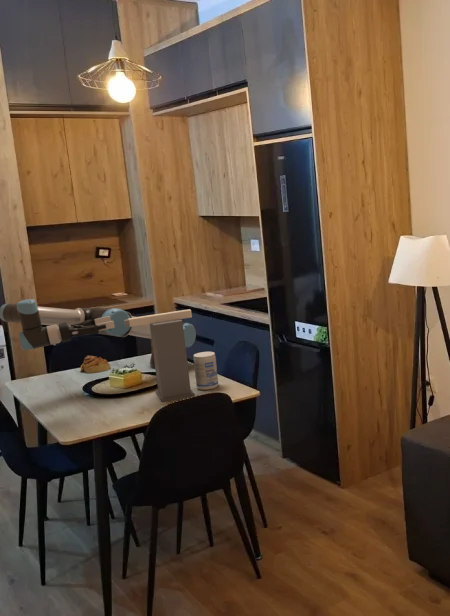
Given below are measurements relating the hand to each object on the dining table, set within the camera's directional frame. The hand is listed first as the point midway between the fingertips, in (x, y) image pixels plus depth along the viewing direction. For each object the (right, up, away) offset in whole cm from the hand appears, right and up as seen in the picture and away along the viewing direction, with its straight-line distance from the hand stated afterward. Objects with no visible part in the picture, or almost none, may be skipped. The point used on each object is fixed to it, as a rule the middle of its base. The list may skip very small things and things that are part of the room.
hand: (112, 321), depth 263 cm
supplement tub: (+38, -29, +17) cm, 51 cm away
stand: (+24, -31, +11) cm, 41 cm away
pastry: (-20, -26, +67) cm, 75 cm away
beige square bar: (+19, 0, +5) cm, 20 cm away
